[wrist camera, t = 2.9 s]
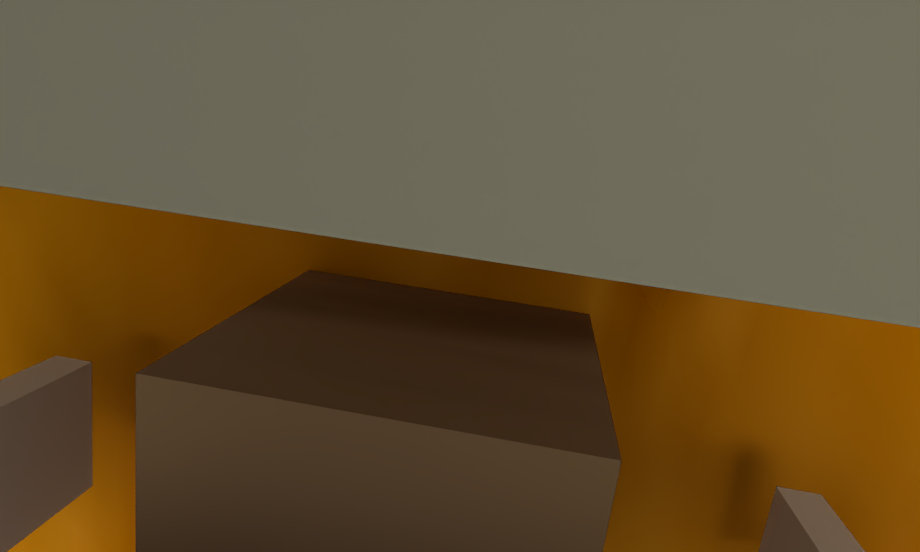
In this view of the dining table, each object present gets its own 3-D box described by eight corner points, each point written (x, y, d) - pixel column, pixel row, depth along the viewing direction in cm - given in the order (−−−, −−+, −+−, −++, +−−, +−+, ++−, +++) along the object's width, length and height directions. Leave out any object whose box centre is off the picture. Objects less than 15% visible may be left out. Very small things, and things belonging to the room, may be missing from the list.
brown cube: (310, 269, 14) (135, 373, 8) (588, 313, 13) (620, 461, 7) (292, 519, 15) (135, 761, 9) (542, 569, 15) (538, 860, 9)
